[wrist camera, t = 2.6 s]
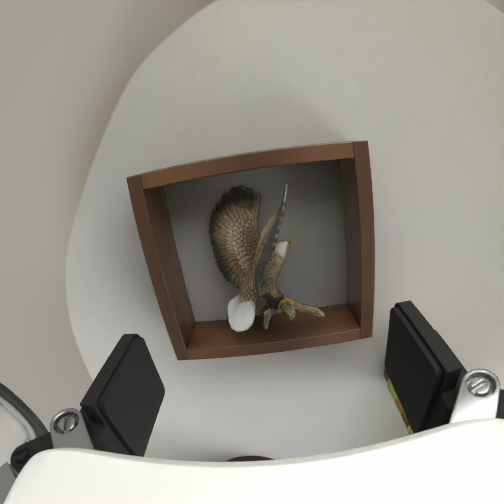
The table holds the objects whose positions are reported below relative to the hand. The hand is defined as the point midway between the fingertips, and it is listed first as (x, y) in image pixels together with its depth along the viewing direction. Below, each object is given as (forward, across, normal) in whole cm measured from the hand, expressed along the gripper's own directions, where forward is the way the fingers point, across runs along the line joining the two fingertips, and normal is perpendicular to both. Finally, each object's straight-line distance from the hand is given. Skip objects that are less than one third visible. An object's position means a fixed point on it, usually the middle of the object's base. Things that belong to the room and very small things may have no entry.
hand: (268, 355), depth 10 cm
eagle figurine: (+13, 0, 0) cm, 13 cm away
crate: (+13, 0, 0) cm, 13 cm away
